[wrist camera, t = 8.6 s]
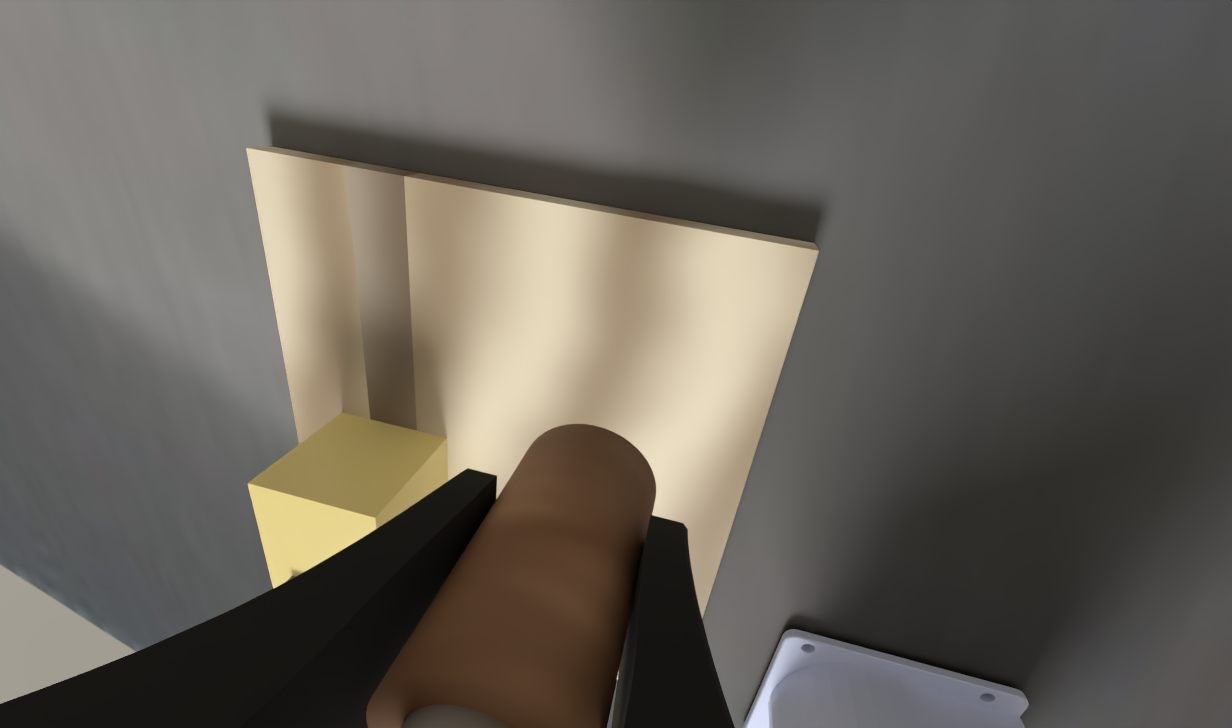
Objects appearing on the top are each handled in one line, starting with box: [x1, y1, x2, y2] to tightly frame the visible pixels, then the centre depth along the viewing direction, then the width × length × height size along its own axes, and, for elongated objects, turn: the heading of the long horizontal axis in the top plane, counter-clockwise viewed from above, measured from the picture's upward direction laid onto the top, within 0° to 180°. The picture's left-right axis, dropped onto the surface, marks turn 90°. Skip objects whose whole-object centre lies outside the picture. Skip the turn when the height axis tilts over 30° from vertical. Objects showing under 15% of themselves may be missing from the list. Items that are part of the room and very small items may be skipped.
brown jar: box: [366, 424, 656, 728], centre depth 8 cm, size 3×3×6 cm
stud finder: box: [248, 412, 448, 589], centre depth 20 cm, size 4×8×5 cm, turn 173°
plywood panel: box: [246, 146, 819, 680], centre depth 21 cm, size 18×21×1 cm
